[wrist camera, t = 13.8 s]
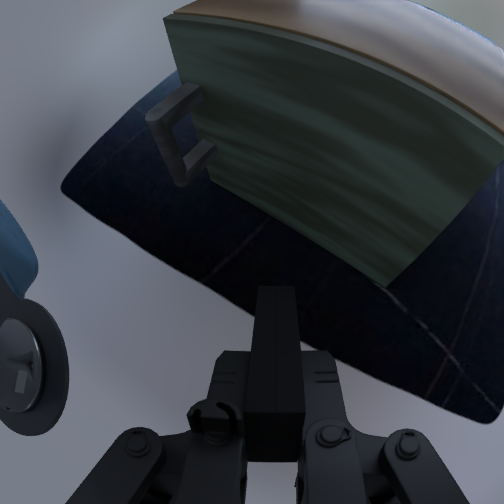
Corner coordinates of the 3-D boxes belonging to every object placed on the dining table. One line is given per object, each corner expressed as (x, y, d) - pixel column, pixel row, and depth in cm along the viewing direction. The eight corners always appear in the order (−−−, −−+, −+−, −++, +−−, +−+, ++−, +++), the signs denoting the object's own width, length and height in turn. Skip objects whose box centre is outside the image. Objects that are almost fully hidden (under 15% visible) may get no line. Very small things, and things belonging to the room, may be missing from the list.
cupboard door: (360, 330, 31) (500, 229, 9) (181, 211, 39) (105, 52, 17) (388, 281, 33) (510, 141, 11) (215, 175, 41) (171, 13, 19)
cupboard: (389, 279, 33) (511, 137, 11) (216, 175, 41) (172, 11, 19) (433, 182, 38) (505, 51, 16) (287, 105, 46) (286, -30, 24)
